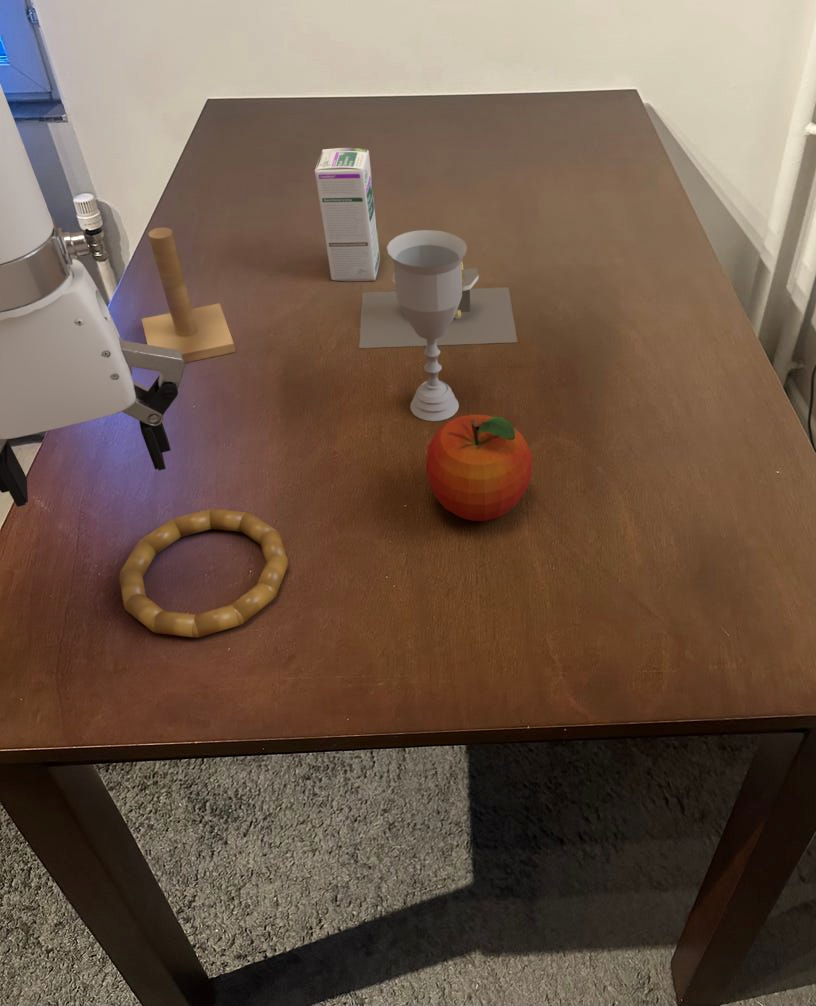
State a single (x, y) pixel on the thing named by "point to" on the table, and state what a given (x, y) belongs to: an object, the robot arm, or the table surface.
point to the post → (183, 310)
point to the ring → (215, 618)
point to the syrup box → (348, 213)
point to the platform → (474, 323)
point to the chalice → (429, 305)
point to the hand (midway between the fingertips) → (91, 475)
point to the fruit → (478, 466)
